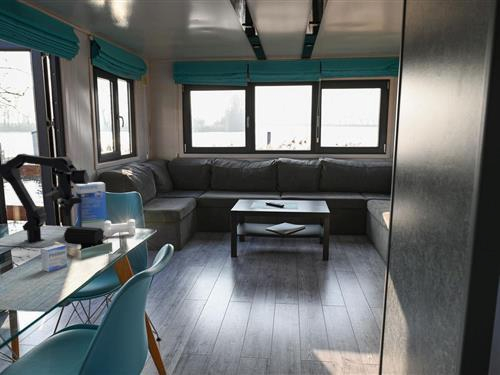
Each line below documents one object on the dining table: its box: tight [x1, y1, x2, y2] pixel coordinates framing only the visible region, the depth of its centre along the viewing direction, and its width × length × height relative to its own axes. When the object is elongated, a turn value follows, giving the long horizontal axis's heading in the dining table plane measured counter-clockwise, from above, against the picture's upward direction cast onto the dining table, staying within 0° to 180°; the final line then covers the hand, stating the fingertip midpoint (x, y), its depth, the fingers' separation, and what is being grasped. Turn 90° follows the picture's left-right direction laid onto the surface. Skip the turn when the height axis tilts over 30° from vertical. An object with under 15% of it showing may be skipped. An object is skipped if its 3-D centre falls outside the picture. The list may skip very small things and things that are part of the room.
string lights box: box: [75, 181, 108, 231], centre depth 199 cm, size 13×8×26 cm, turn 124°
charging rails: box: [52, 240, 113, 260], centre depth 172 cm, size 24×14×4 cm, turn 53°
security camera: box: [63, 225, 106, 250], centre depth 171 cm, size 7×18×10 cm, turn 79°
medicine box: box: [40, 243, 68, 273], centre depth 149 cm, size 8×4×9 cm, turn 148°
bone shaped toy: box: [104, 218, 136, 238], centre depth 196 cm, size 15×9×8 cm, turn 108°
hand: (66, 216), depth 183 cm, fingers closed
